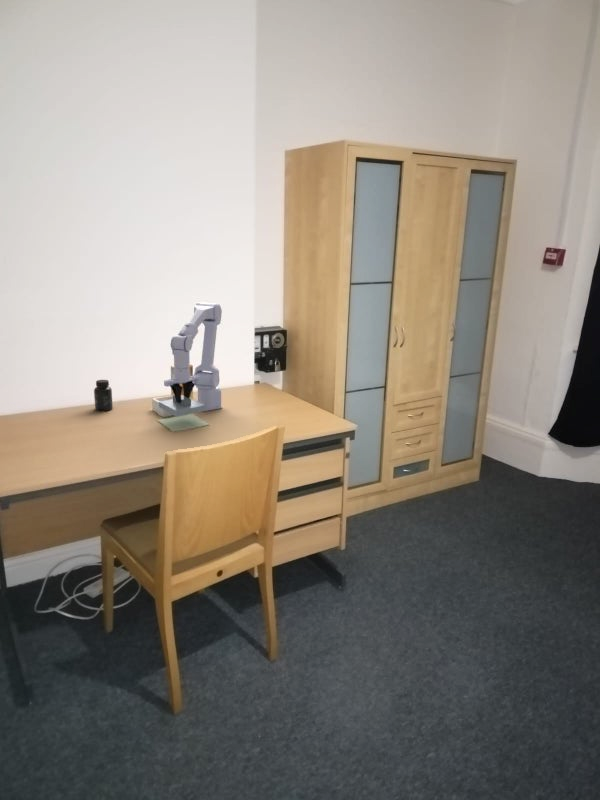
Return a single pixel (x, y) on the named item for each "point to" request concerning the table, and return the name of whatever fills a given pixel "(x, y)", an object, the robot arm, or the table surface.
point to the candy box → (182, 384)
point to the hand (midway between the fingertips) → (182, 401)
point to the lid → (181, 406)
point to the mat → (182, 422)
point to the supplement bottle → (103, 396)
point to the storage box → (157, 409)
